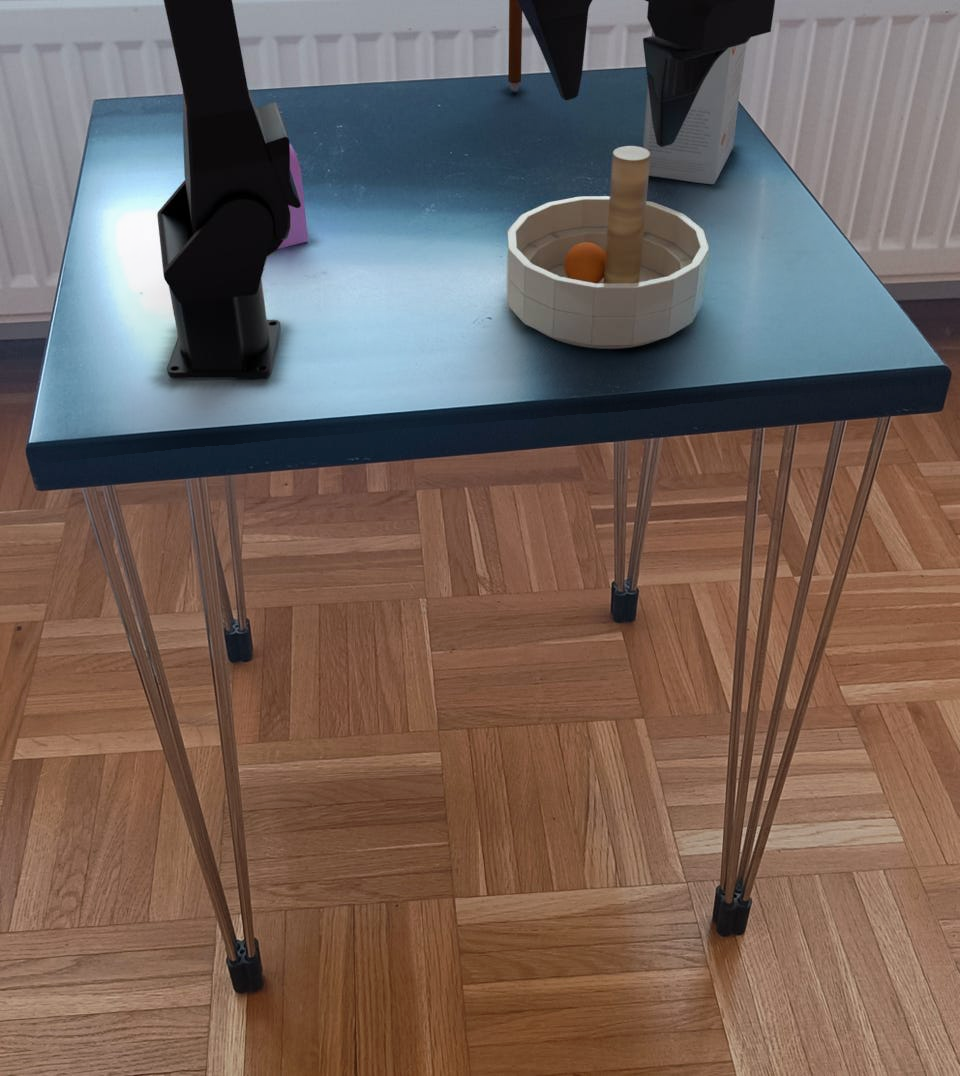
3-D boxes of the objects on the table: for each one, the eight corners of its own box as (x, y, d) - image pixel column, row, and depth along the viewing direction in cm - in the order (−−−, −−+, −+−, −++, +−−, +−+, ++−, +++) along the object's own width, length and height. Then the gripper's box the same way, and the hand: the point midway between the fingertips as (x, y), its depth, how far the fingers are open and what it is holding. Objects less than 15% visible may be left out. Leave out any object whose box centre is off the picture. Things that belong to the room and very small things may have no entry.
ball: (593, 301, 86) (587, 283, 84) (559, 280, 87) (551, 261, 85) (619, 267, 87) (613, 247, 84) (584, 246, 88) (577, 226, 85)
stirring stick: (632, 304, 84) (644, 163, 78) (598, 298, 85) (607, 157, 79) (642, 288, 86) (655, 148, 80) (609, 282, 87) (619, 143, 80)
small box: (661, 138, 108) (676, -20, 100) (734, 148, 106) (755, -12, 98) (637, 175, 102) (651, 10, 94) (714, 186, 100) (735, 19, 92)
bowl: (712, 356, 81) (722, 287, 78) (509, 357, 81) (510, 288, 78) (685, 260, 91) (693, 195, 88) (504, 260, 91) (505, 196, 88)
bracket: (308, 241, 93) (299, 151, 89) (238, 259, 91) (225, 167, 87) (242, 178, 102) (231, 93, 97) (177, 193, 100) (162, 107, 95)
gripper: (869, -151, 65) (818, 139, 75) (635, -205, 77) (618, 52, 87) (713, -122, 60) (680, 185, 70) (488, -184, 72) (488, 87, 82)
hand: (615, 120), depth 77 cm, fingers open, 9 cm apart
